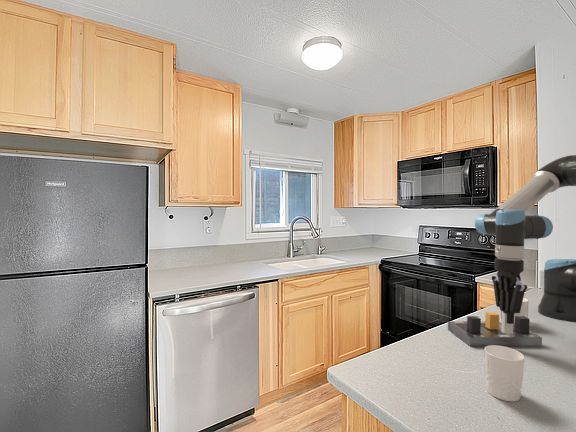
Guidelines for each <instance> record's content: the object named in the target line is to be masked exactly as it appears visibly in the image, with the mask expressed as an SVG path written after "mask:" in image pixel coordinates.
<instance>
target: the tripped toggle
mask: <svg viewBox="0 0 576 432" xmlns="http://www.w3.org/2000/svg"><path fill="white" fill-rule="evenodd" d="M499 321H500V314H499V313H497V312H493V311H486V312H485V327H487V328H488V329H499Z"/></svg>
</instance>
